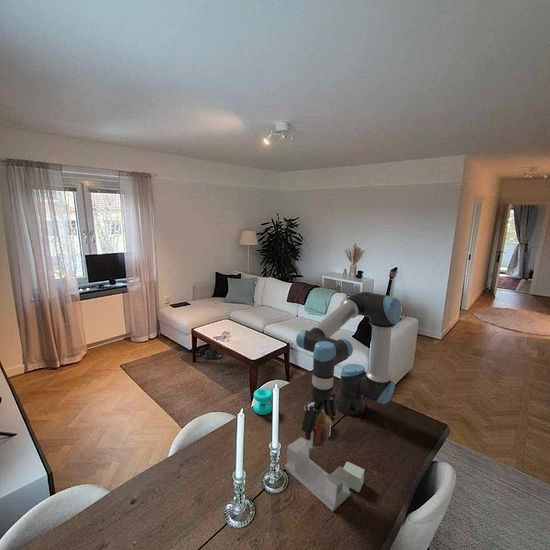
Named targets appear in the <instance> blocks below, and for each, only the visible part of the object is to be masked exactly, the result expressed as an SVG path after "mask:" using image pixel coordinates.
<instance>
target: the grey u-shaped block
mask: <svg viewBox="0 0 550 550" xmlns="http://www.w3.org/2000/svg"><path fill="white" fill-rule="evenodd" d="M286 447H287V449H286V450H287V451H286V463H285V464H284V469H285V471H287V472H288V473H290V475H292V476H293V477H294V478H295V479H296V481H297V480H298V482H299V483H301V485H303V486H304V487H305V488H306V489H307V490H308V491H309V492H310V493H311V494H313V495H314V496H315V497H316V498H317V499H318V500H319V501H321V503H322V504H323V505H325V506H326V507H327V508H328V509H329V511H331V512H335V510H337V509H338V507H339V506H340V505H341V504H342V503H344V501H346V500H347V499H348V498H349V497H350V495H351V491H350V488H349V485H350V473H349V472H347V471H346V470H345V469H343V467H342V466H341V465H340V466H338V467H337V468H336V469H335V470H334V471H332V472H331V473H330V474H329V473H328V472H327V471H325V469H323V468H322V467H321V466H319V465H318V464H317V463H315V462H314V461H313V460H312V459H310V457H309V456H310V448H309V447H308V446H306V438H304V437H302V436H301V437H299V438H297V439H296V440H295V441H293V442H291V443H290V444H288V445H287V446H286Z"/></svg>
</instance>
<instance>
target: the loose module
mask: <svg viewBox="0 0 550 550" xmlns="http://www.w3.org/2000/svg"><path fill="white" fill-rule="evenodd" d="M342 468H343V469H345V470H346V471H347V472H349V473H350V485H349V489H352V490H353V491H355V492H357V493H360V492H361V490H362V487H363V485H364V482H365V481H364V479H365V471H366V469H364V468H362V467H360V466H358V465H356V464H354V463H351V462H350V461H346V462H345V464H344V466H343V467H342Z"/></svg>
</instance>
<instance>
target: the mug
mask: <svg viewBox="0 0 550 550" xmlns="http://www.w3.org/2000/svg"><path fill="white" fill-rule="evenodd" d="M316 411H318V410H316ZM330 421H331V416H329V415H327V414H325V412H324V411H323V410H321V412H320V414H319V415H318V417H317V420H316V422H315V425H314V428H313V430H312V431H313V432H314V434H313V446H314V447H317V448H320V447H323V446H325V445H327V444H328V439H329V437H328V427H329V424H330Z"/></svg>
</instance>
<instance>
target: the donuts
mask: <svg viewBox="0 0 550 550" xmlns="http://www.w3.org/2000/svg"><path fill="white" fill-rule="evenodd" d="M272 393H273V391H271V389H268V388H264V387H262V388H258V389H256V390H255V391H254V393H253V398H254V401H255V400H256V402H255V403H254V404H253V406H252V407H253V411H254V413H256V414H257V415H261V416H265V415H268V414H270V413H271V412H272V411H273V409H272V407H273V404H272V403H271V402H270V401H271V400H272V399H273V398H272Z"/></svg>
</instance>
